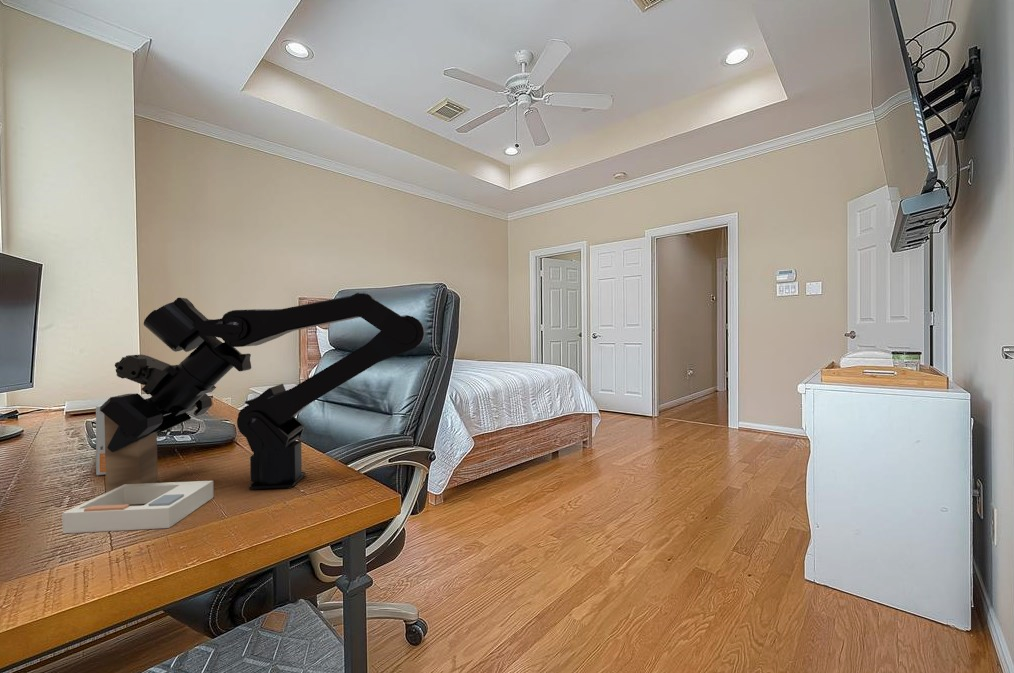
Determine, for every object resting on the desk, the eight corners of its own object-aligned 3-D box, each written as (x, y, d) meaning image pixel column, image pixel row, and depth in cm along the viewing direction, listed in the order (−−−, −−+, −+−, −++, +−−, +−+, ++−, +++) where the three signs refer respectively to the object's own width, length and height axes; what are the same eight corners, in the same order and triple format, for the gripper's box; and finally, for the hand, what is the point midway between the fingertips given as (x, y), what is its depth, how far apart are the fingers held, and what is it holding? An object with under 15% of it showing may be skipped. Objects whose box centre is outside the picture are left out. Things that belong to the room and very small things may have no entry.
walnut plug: (157, 482, 70) (156, 403, 70) (139, 492, 66) (137, 408, 65) (126, 484, 69) (124, 404, 69) (106, 494, 65) (104, 409, 65)
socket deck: (213, 497, 64) (213, 478, 64) (169, 527, 55) (168, 505, 54) (124, 501, 63) (124, 482, 63) (62, 533, 53) (62, 510, 53)
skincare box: (95, 476, 74) (93, 406, 74) (106, 469, 78) (105, 402, 78) (140, 471, 76) (138, 403, 76) (148, 465, 80) (147, 400, 80)
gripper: (191, 335, 77) (121, 400, 75) (114, 337, 58) (20, 423, 57) (240, 379, 78) (173, 443, 77) (181, 394, 60) (91, 479, 58)
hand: (121, 445), depth 67 cm, fingers closed on walnut plug, 4 cm apart
